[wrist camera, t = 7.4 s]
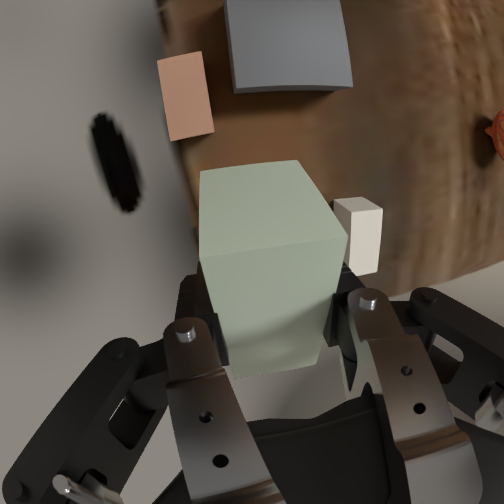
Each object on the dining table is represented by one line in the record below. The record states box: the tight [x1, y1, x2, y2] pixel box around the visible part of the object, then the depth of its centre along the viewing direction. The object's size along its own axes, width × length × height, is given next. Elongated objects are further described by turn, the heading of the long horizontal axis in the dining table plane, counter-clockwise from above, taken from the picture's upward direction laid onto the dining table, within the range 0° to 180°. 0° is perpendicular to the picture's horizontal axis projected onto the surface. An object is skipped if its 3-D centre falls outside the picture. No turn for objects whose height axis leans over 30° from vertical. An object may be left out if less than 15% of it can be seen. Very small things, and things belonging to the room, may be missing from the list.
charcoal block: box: [223, 0, 353, 94], centre depth 19 cm, size 10×10×4 cm
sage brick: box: [199, 160, 348, 379], centre depth 10 cm, size 7×4×4 cm, turn 6°
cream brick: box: [334, 197, 383, 276], centre depth 28 cm, size 7×4×4 cm, turn 6°
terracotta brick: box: [157, 51, 215, 141], centre depth 20 cm, size 7×4×4 cm, turn 8°
